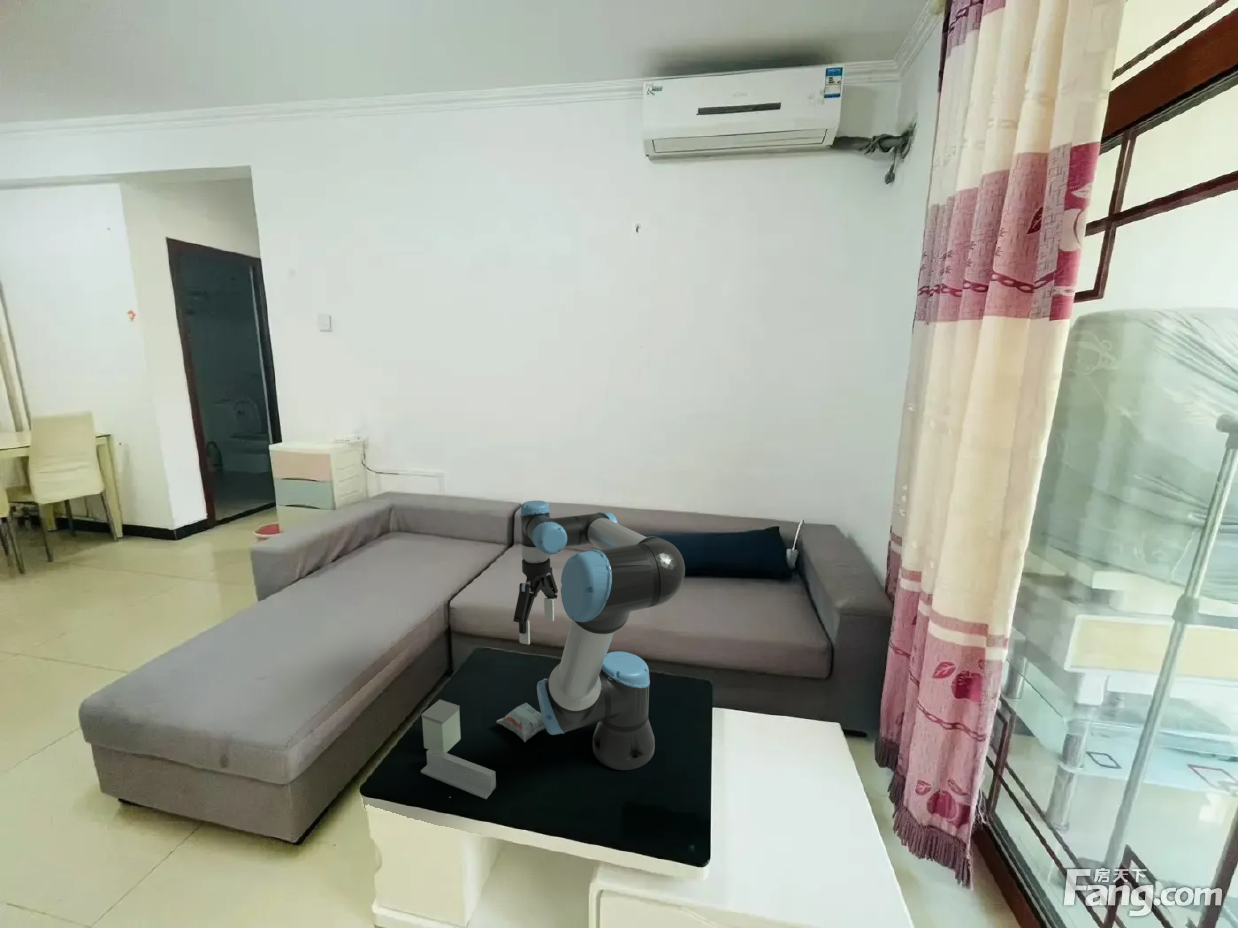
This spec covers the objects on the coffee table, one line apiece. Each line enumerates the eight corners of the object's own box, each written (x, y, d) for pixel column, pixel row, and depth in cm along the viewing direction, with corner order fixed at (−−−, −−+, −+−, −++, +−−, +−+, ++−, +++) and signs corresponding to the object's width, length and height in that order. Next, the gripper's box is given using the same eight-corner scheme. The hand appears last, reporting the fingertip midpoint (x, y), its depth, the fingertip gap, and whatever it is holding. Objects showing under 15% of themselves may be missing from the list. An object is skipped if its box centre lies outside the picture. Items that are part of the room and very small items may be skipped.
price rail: (497, 785, 113) (496, 770, 112) (486, 799, 109) (485, 783, 109) (433, 761, 120) (432, 746, 119) (421, 772, 116) (419, 757, 115)
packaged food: (525, 750, 123) (524, 732, 122) (496, 728, 130) (495, 710, 130) (552, 731, 129) (552, 714, 128) (523, 711, 137) (522, 695, 136)
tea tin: (461, 738, 127) (459, 705, 125) (443, 755, 121) (441, 721, 120) (441, 731, 129) (439, 699, 128) (423, 748, 124) (421, 714, 122)
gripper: (545, 542, 150) (547, 609, 154) (497, 572, 127) (500, 650, 131) (568, 545, 148) (569, 613, 152) (524, 577, 125) (526, 656, 128)
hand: (537, 631), depth 141 cm, fingers open, 13 cm apart
